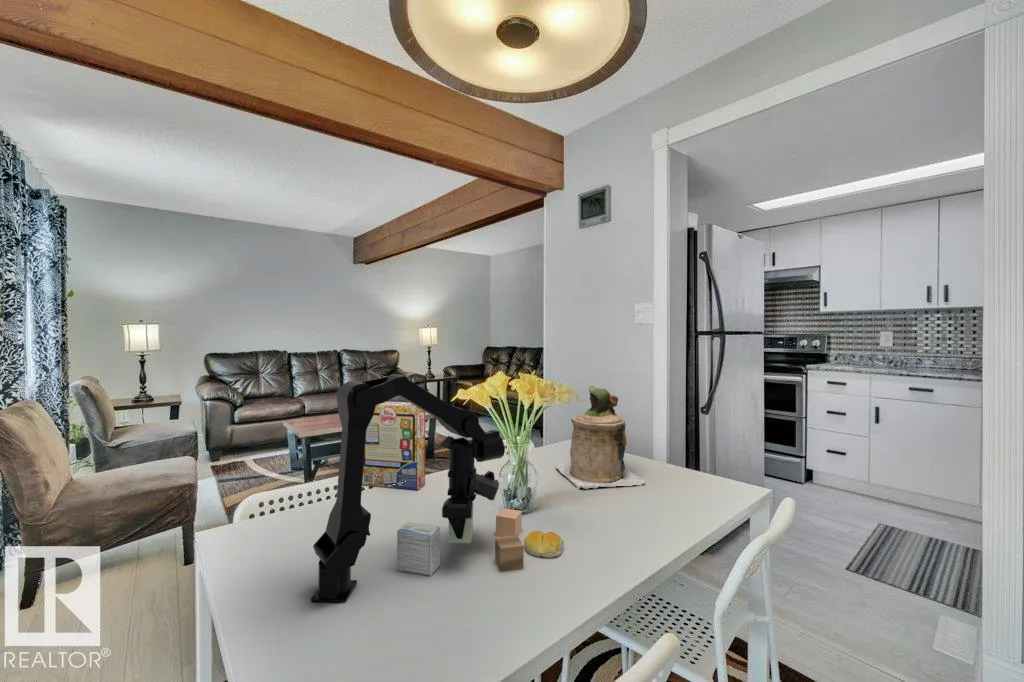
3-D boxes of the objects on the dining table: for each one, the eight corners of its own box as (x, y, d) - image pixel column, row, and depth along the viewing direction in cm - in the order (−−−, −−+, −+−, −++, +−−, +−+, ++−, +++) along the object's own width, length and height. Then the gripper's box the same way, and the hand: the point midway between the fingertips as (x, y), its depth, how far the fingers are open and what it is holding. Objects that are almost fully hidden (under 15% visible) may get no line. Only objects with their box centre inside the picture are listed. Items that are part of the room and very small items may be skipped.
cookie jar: (578, 491, 139) (579, 391, 139) (552, 468, 163) (553, 383, 163) (647, 486, 145) (649, 389, 145) (613, 464, 169) (614, 382, 169)
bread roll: (528, 539, 106) (528, 523, 106) (565, 545, 104) (565, 528, 104) (519, 555, 98) (519, 538, 98) (558, 562, 96) (559, 544, 96)
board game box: (425, 484, 144) (426, 402, 144) (417, 491, 138) (418, 405, 137) (369, 479, 148) (369, 399, 148) (358, 485, 142) (359, 402, 142)
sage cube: (470, 543, 98) (471, 520, 98) (448, 542, 98) (448, 520, 98) (472, 533, 103) (473, 511, 103) (451, 532, 103) (451, 511, 103)
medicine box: (440, 566, 93) (440, 525, 93) (430, 577, 89) (431, 534, 89) (406, 560, 95) (407, 521, 95) (396, 571, 91) (396, 529, 91)
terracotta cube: (515, 539, 106) (515, 518, 106) (495, 536, 108) (496, 515, 108) (521, 530, 111) (521, 511, 111) (503, 527, 112) (503, 508, 112)
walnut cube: (523, 569, 93) (523, 545, 93) (500, 572, 91) (500, 548, 91) (516, 557, 97) (517, 535, 97) (494, 560, 96) (495, 537, 96)
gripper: (495, 478, 91) (494, 553, 91) (498, 454, 109) (497, 516, 110) (442, 478, 91) (441, 553, 91) (453, 454, 109) (452, 516, 110)
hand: (460, 533), depth 100 cm, fingers closed on sage cube, 5 cm apart
